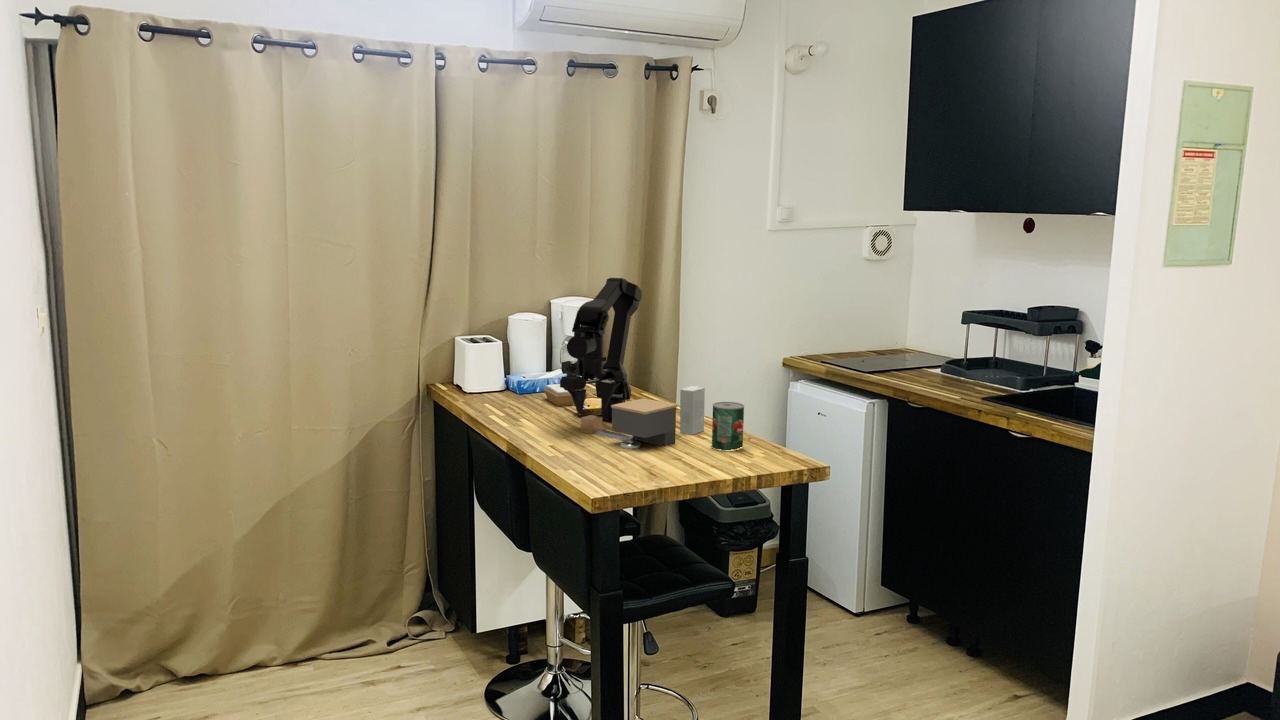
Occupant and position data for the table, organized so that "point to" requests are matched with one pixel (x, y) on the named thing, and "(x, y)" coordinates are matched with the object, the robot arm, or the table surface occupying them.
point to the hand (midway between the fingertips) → (591, 410)
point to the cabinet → (646, 420)
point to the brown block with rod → (594, 426)
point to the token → (630, 445)
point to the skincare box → (692, 410)
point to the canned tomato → (727, 425)
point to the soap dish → (559, 395)
